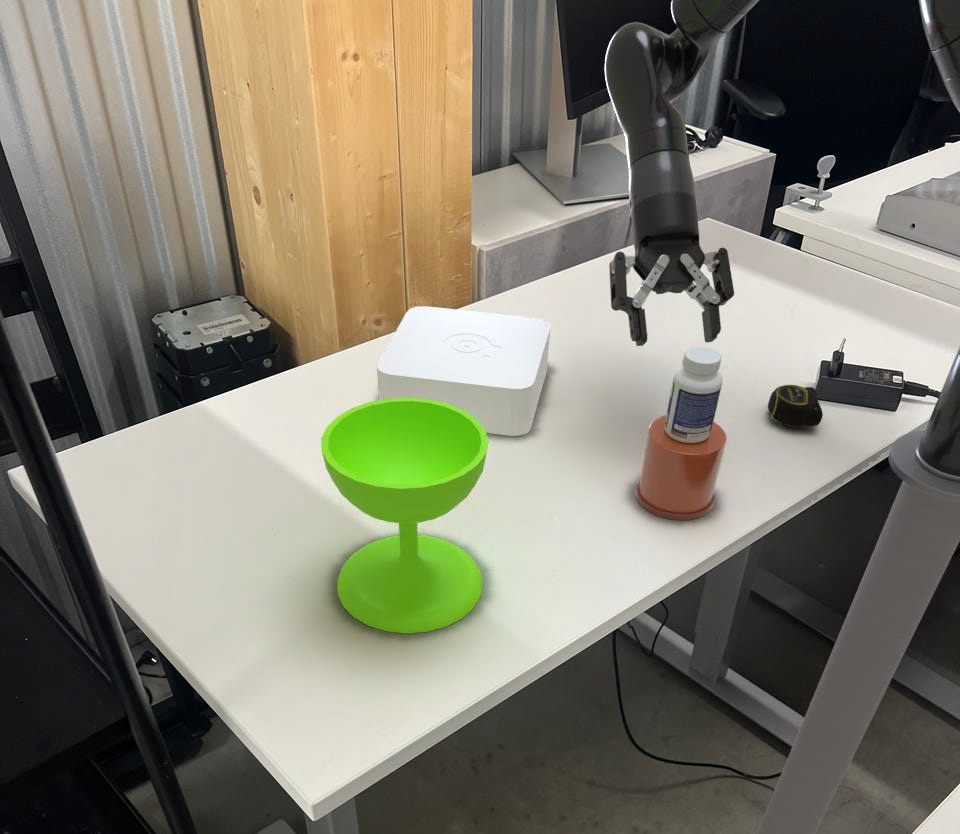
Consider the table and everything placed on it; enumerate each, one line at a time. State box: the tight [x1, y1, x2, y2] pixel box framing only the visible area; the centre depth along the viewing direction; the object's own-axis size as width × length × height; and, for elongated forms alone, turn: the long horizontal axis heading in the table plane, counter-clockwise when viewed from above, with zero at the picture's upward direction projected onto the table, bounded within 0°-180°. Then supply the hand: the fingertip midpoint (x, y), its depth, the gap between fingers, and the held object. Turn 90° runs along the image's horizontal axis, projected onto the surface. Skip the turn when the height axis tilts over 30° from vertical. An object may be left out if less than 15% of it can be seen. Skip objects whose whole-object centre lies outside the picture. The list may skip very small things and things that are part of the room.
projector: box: [376, 305, 551, 437], centre depth 129 cm, size 21×22×7 cm
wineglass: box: [320, 398, 489, 634], centre depth 94 cm, size 16×16×18 cm
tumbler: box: [635, 414, 728, 521], centre depth 110 cm, size 10×10×9 cm
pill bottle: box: [665, 346, 723, 443], centre depth 104 cm, size 5×5×10 cm
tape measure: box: [767, 384, 823, 428], centre depth 126 cm, size 7×7×4 cm
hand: (677, 342), depth 108 cm, fingers open, 8 cm apart
